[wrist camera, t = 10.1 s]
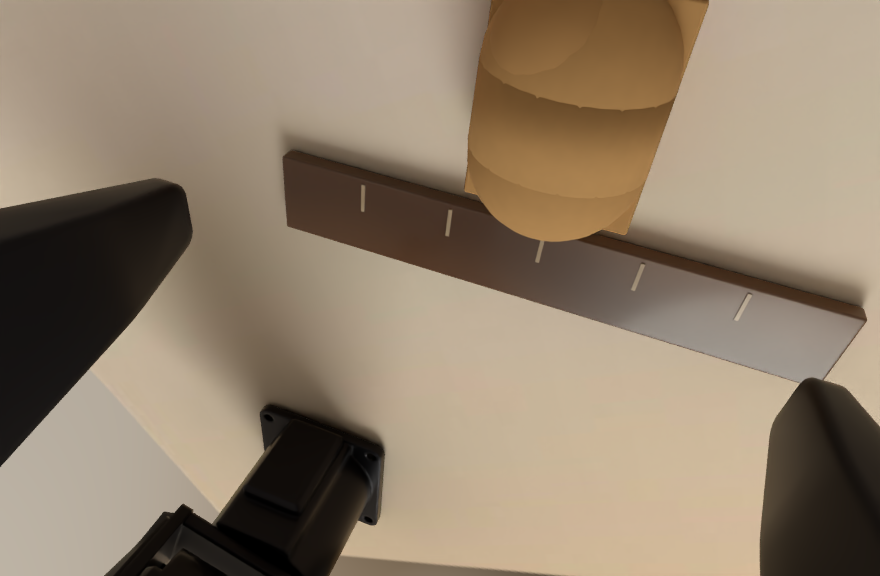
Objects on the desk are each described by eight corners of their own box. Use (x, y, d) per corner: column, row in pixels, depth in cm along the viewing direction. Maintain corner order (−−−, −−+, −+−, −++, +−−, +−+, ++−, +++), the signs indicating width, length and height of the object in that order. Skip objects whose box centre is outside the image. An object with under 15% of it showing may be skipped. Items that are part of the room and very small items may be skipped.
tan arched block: (631, 206, 17) (610, 298, 14) (485, 168, 18) (433, 246, 15) (717, -41, 13) (718, 3, 10) (526, -74, 14) (466, -44, 11)
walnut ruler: (815, 376, 19) (817, 390, 18) (295, 218, 22) (285, 227, 22) (865, 307, 17) (869, 321, 16) (291, 149, 20) (280, 156, 20)
